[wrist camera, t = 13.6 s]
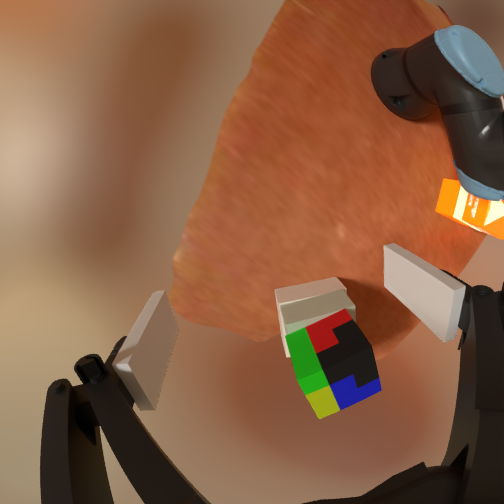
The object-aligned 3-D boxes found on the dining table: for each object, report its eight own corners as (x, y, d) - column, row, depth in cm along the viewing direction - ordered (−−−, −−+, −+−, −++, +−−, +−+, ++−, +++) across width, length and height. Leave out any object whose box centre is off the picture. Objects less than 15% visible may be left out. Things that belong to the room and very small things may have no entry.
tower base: (335, 275, 50) (346, 288, 45) (337, 327, 54) (346, 343, 48) (274, 288, 50) (278, 303, 45) (282, 339, 54) (286, 357, 48)
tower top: (341, 289, 45) (355, 305, 39) (345, 338, 48) (356, 357, 42) (279, 305, 45) (285, 324, 39) (290, 354, 48) (296, 375, 42)
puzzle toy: (358, 351, 42) (381, 390, 32) (305, 376, 43) (318, 419, 33) (344, 307, 39) (371, 345, 29) (284, 335, 40) (297, 380, 30)
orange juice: (458, 223, 48) (521, 248, 29) (434, 211, 47) (503, 235, 28) (466, 191, 46) (531, 208, 27) (443, 177, 45) (514, 190, 26)
